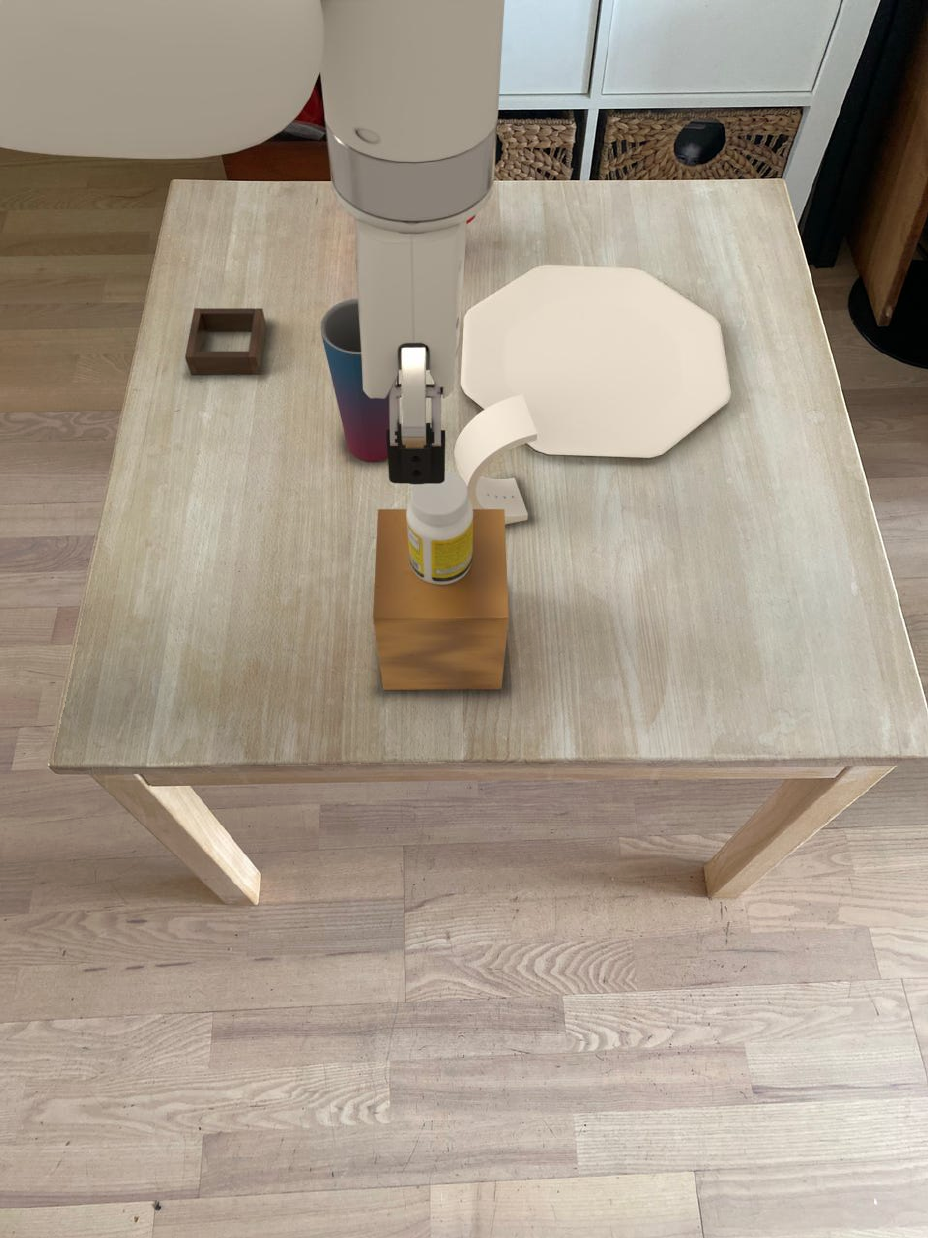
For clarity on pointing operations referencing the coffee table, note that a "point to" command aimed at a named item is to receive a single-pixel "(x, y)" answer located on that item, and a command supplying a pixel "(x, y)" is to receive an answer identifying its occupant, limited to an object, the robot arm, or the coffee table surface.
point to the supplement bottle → (440, 530)
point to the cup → (354, 384)
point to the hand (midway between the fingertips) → (417, 416)
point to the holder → (226, 360)
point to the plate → (597, 360)
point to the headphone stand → (494, 455)
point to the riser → (441, 611)
